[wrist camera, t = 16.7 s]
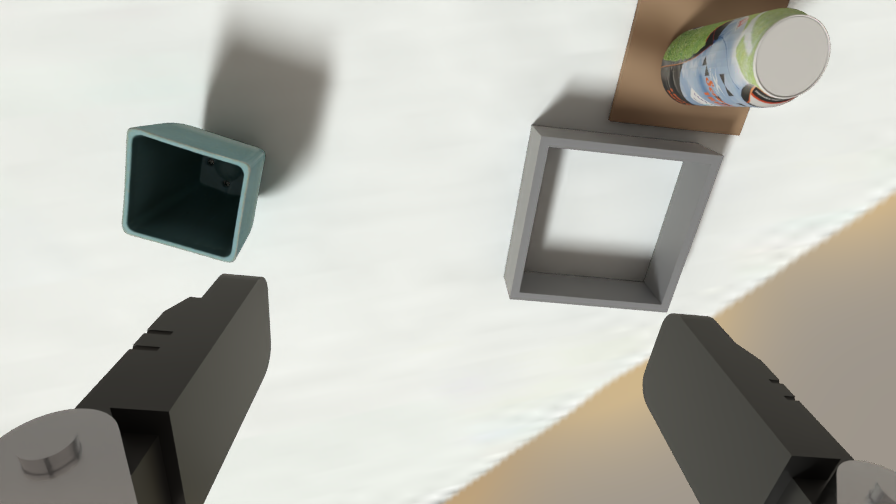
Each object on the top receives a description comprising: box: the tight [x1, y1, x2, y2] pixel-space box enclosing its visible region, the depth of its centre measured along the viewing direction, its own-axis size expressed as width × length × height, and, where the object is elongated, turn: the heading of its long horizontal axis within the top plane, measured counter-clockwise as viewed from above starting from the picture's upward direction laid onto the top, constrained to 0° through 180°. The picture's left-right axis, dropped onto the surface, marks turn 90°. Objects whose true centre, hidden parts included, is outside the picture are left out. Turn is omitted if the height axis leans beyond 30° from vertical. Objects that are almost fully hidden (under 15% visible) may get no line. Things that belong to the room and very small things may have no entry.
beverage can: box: [661, 8, 830, 108], centre depth 36 cm, size 6×7×12 cm
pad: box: [608, 0, 790, 135], centre depth 41 cm, size 12×12×1 cm
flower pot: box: [122, 123, 265, 262], centre depth 41 cm, size 9×9×9 cm
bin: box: [504, 125, 724, 312], centre depth 46 cm, size 16×16×4 cm
